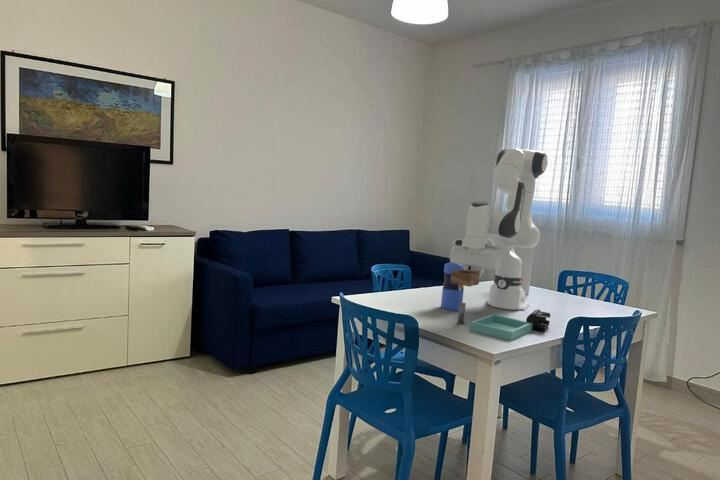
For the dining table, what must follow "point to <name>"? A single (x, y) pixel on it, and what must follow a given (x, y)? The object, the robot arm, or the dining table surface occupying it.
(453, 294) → the water bottle
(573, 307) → the dining table surface
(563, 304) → the dining table surface
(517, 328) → the tray
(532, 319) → the black blocky piece
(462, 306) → the stake
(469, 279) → the wooden box
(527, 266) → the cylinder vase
